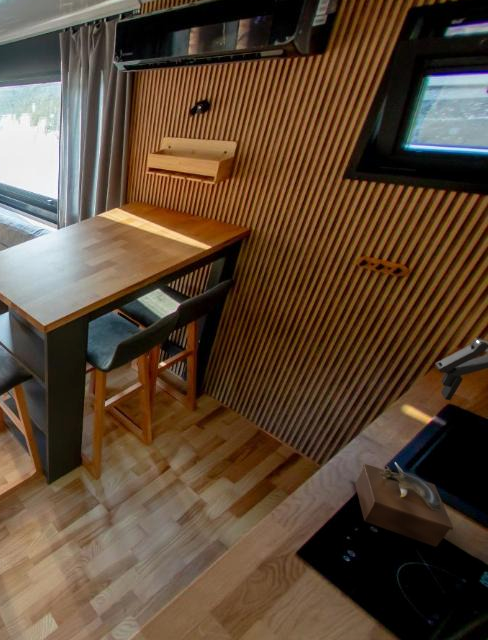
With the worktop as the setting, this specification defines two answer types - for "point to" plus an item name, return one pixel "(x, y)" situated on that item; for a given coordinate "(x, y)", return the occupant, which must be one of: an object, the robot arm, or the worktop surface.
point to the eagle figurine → (414, 486)
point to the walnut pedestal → (400, 508)
